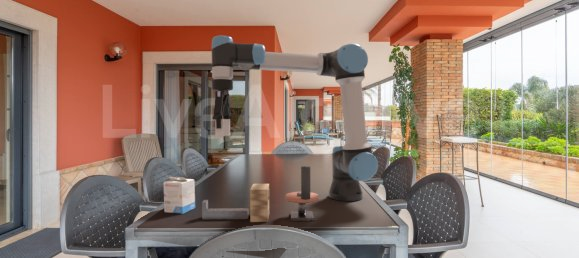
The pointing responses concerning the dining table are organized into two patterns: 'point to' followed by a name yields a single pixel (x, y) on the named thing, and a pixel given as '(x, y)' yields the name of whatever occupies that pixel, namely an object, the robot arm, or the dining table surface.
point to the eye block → (259, 203)
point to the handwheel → (303, 189)
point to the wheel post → (302, 213)
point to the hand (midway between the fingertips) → (223, 137)
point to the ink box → (179, 195)
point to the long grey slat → (223, 212)
